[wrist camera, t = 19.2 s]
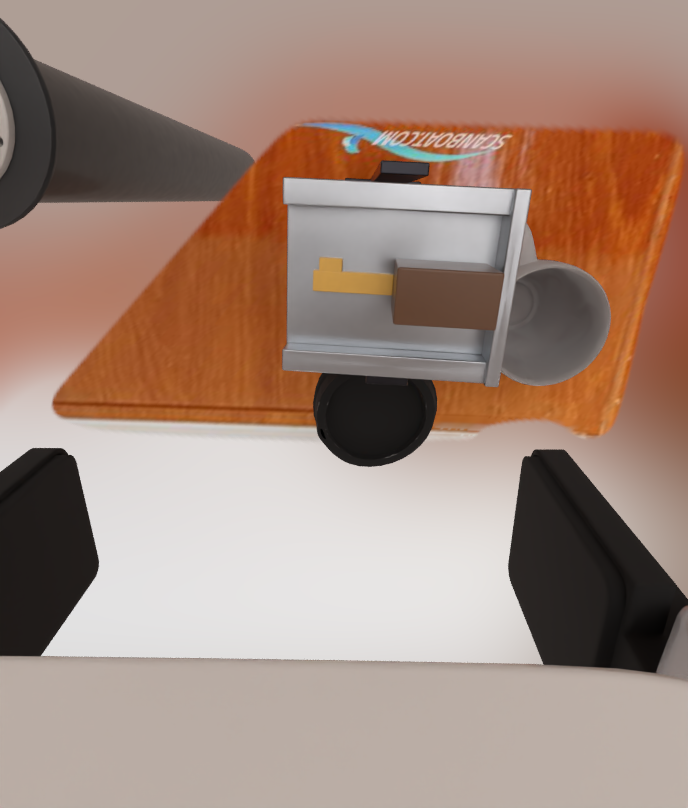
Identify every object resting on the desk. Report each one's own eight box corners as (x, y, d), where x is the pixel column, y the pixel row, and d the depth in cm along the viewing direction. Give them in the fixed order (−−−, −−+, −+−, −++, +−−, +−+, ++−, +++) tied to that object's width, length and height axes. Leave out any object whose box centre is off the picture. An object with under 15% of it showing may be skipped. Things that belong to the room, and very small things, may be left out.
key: (488, 263, 22) (505, 273, 19) (480, 314, 23) (496, 331, 20) (314, 253, 22) (304, 261, 19) (313, 304, 23) (303, 319, 20)
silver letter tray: (287, 360, 25) (280, 373, 23) (289, 178, 22) (280, 176, 20) (489, 373, 24) (498, 387, 22) (519, 190, 21) (532, 189, 19)
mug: (570, 333, 46) (621, 365, 37) (473, 363, 47) (500, 402, 38) (543, 196, 42) (594, 195, 33) (438, 234, 43) (459, 242, 34)
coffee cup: (311, 324, 46) (291, 379, 32) (402, 294, 45) (421, 337, 31) (342, 406, 49) (335, 489, 35) (427, 380, 48) (455, 455, 34)
